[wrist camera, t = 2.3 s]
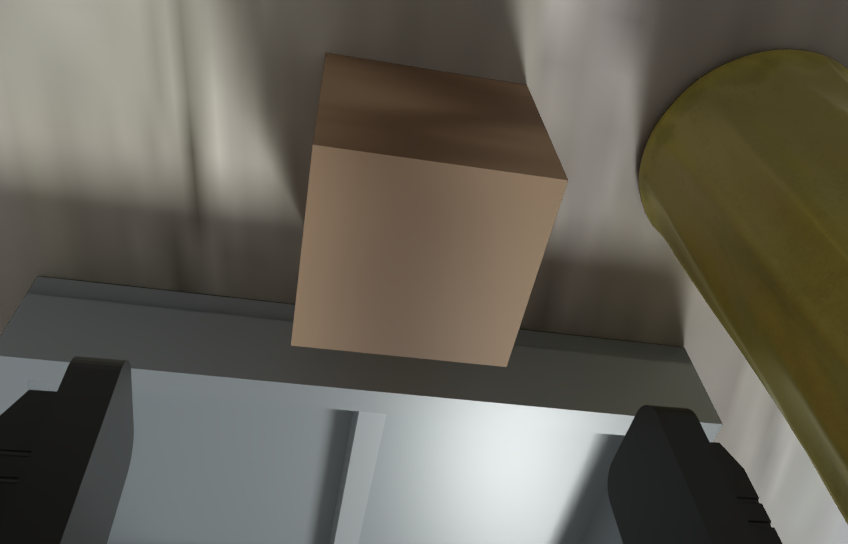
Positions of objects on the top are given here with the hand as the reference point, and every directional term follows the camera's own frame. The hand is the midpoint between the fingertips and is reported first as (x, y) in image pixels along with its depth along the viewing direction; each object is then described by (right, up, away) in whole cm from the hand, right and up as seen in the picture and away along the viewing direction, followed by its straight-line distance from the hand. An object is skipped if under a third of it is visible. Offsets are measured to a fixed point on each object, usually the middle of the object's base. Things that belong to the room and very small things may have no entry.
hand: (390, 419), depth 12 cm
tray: (-2, -5, +15) cm, 16 cm away
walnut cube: (0, +5, +8) cm, 10 cm away
